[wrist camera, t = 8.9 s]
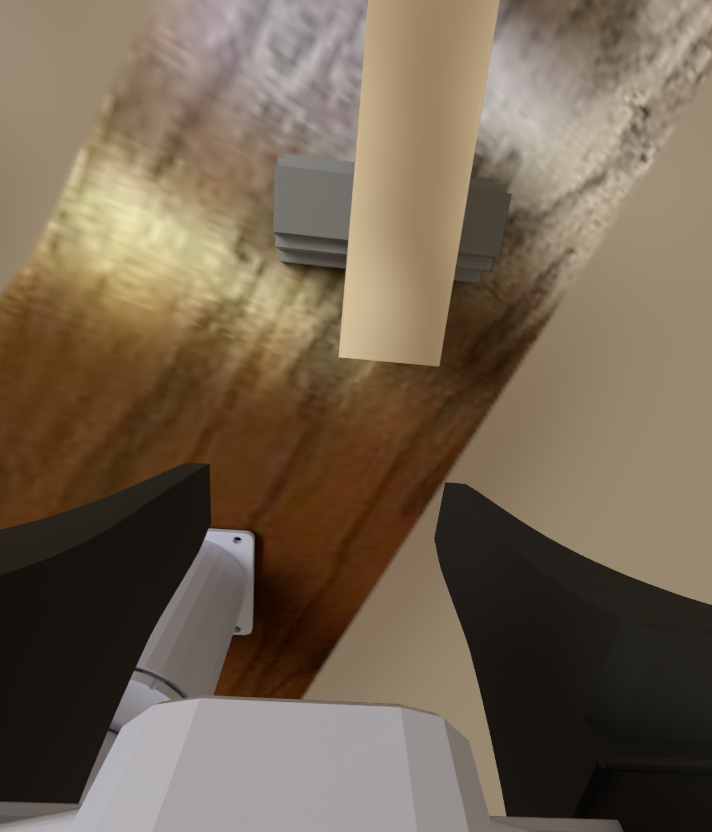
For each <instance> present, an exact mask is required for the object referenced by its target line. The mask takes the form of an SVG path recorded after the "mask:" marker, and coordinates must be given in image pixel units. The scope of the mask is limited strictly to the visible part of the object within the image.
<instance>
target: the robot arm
mask: <svg viewBox="0 0 712 832" xmlns="http://www.w3.org/2000/svg"><path fill="white" fill-rule="evenodd" d="M210 524H211V504H210V465H209V464H202V463H186V464H183V465H180V466H177V467H175V468H173V469H170V470H168V471H166V472H163V473H161V474H159V475H157V476H154V477H152V478H150V479H148V480H146V481H143V482H141V483H139V484H137V485H134V486H132V487H130V488H127V489H125V490H122V491H120V492H117V493H115V494H113V495H110V496H108V497H105V498H103V499H100V500H98V501H95V502H92V503H90V504H87V505H84V506H81V507H79V508H76V509H73V510H70V511H66V512H63V513H60V514H57V515H54V516H51V517H47V518H44V519H40V520H37V521H33V522H29V523H25V524H21V525H17V526H14V527H10V528H6V529H2V530H0V832H712V605H709V604H706V603H703V602H700V601H697V600H693V599H690V598H687V597H683V596H681V595H678V594H675V593H672V592H669V591H667V590H664V589H661V588H658V587H655V586H653V585H650V584H647V583H645V582H642V581H639V580H636V579H634V578H632V577H629V576H626V575H624V574H622V573H620V572H617V571H615V570H612V569H610V568H608V567H606V566H604V565H601V564H599V563H596V562H594V561H592V560H590V559H588V558H586V557H584V556H582V555H580V554H578V553H576V552H574V551H572V550H570V549H568V548H566V547H564V546H563V545H561V544H559V543H557V542H555V541H553V540H551V539H549V538H548V537H546V536H544V535H543V534H541V533H540V532H538V531H536V530H535V529H533V528H531V527H530V526H528V525H526V524H525V523H523V522H522V521H520V520H519V519H517V518H516V517H514V516H513V515H511V514H510V513H508V512H507V511H505V510H504V509H502V508H501V507H499V506H498V505H496V504H495V503H493V502H492V501H491V500H489V499H488V498H486V497H485V496H483V495H482V494H481V493H479V492H478V491H476V490H474V489H473V488H471V487H469V486H468V485H466V484H459V483H446V482H445V486H444V492H443V497H442V502H441V507H440V512H439V518H438V523H437V528H436V533H435V538H434V539H435V544H436V549H437V554H438V559H439V563H440V567H441V570H442V573H443V576H444V579H445V582H446V584H447V587H448V590H449V593H450V596H451V598H452V601H453V604H454V607H455V609H456V612H457V615H458V618H459V620H460V623H461V626H462V629H463V631H464V634H465V637H466V640H467V643H468V646H469V650H470V653H471V657H472V661H473V665H474V669H475V672H476V676H477V680H478V684H479V688H480V692H481V697H482V701H483V705H484V710H485V714H486V718H487V723H488V727H489V731H490V736H491V741H492V745H493V750H494V755H495V760H496V764H497V769H498V774H499V779H500V783H501V789H502V794H503V799H504V805H505V810H506V815H507V817H502V816H489V814H488V810H487V806H486V803H485V799H484V795H483V792H482V788H481V784H480V781H479V777H478V773H477V769H476V766H475V762H474V759H473V755H472V751H471V748H470V744H469V741H468V740H467V739H466V738H465V737H464V736H463V735H462V734H461V733H459V732H458V731H457V730H456V729H455V728H454V727H453V726H452V725H451V724H450V723H449V722H448V721H446V720H445V719H444V718H443V717H441V716H440V715H437V714H436V713H432V712H428V711H424V710H420V709H416V708H412V707H408V706H403V705H400V704H383V703H382V704H381V703H362V702H338V701H318V700H296V699H274V698H252V697H230V696H213V694H214V691H215V688H216V685H217V682H218V679H219V676H220V673H221V670H222V667H223V664H224V660H225V657H226V654H227V651H228V648H229V645H230V642H231V639H232V636H233V635H248V634H250V633H251V632H252V628H253V608H254V560H255V536H254V534H253V533H252V532H250V531H242V530H226V529H210V528H209V527H210ZM235 537H239V538H241V540H236V539H235ZM236 626H237V627H236ZM238 627H239V628H238Z"/></svg>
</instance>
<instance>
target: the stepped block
mask: <svg viewBox="0 0 712 832" xmlns="http://www.w3.org/2000/svg"><path fill="white" fill-rule="evenodd" d="M354 166H355V162H347V161H339V160H331V159H324V158H316V157H308V156H300V155H292V154H284V153H283V157H278V165H275V181H274V215H273V232H274V233H275V234H276V242H275V246H276V247H277V248H278V249H280V252H279V261H281V262H285V263H294V264H303V265H313V266H322V267H331V268H341V269H346V261H347V249H348V237H349V225H350V213H351V201H352V189H353V178H354ZM506 188H507V185H501V184H498V180H491V179H483V178H475V177H470V183H469V189H468V195H467V201H466V207H465V213H464V220H463V226H462V232H461V238H460V244H459V250H458V256H457V262H456V268H455V274H454V280H453V281H462V282H471V283H478V282H480V278H481V273H482V272H483V271H488V270H491V267H492V261H493V258H497V257H499V255H500V250H501V245H502V239H503V234H504V229H505V224H506V219H507V214H508V209H509V204H510V199H511V194H508V193H506Z"/></svg>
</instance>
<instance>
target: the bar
mask: <svg viewBox="0 0 712 832" xmlns="http://www.w3.org/2000/svg"><path fill="white" fill-rule="evenodd" d="M499 2H500V0H369V2H368V13H367V25H366V36H365V47H364V59H363V70H362V82H361V94H360V106H359V118H358V130H357V142H356V154H355V166H354V178H353V189H352V201H351V213H350V225H349V237H348V249H347V261H346V273H345V285H344V297H343V308H342V320H341V332H340V346H339V357H342V358H353V359H364V360H375V361H386V362H396V363H407V364H418V365H429V366H439V365H440V359H441V353H442V347H443V341H444V335H445V328H446V322H447V316H448V310H449V304H450V298H451V292H452V286H453V280H454V274H455V268H456V262H457V256H458V250H459V244H460V238H461V232H462V226H463V220H464V213H465V207H466V201H467V195H468V189H469V183H470V177H471V171H472V165H473V159H474V153H475V147H476V141H477V135H478V129H479V123H480V117H481V111H482V104H483V98H484V92H485V86H486V80H487V74H488V68H489V62H490V56H491V50H492V44H493V38H494V32H495V26H496V20H497V14H498V8H499Z"/></svg>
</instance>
